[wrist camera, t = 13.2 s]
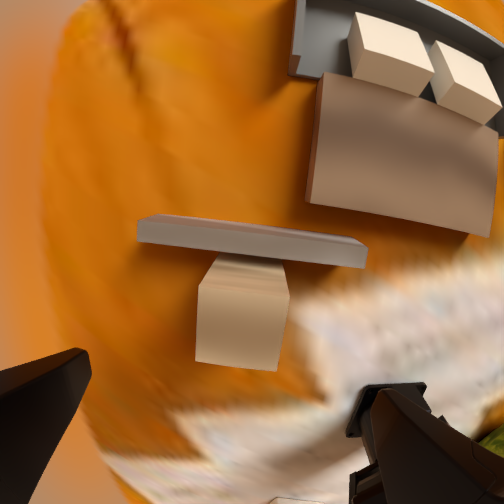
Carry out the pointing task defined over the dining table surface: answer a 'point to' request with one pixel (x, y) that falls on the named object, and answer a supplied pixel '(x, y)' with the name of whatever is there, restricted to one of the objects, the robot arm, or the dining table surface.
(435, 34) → the tray
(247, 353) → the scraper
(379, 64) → the tile
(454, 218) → the board
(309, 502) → the medicine bottle
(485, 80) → the tile
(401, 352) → the dining table surface
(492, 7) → the dining table surface
